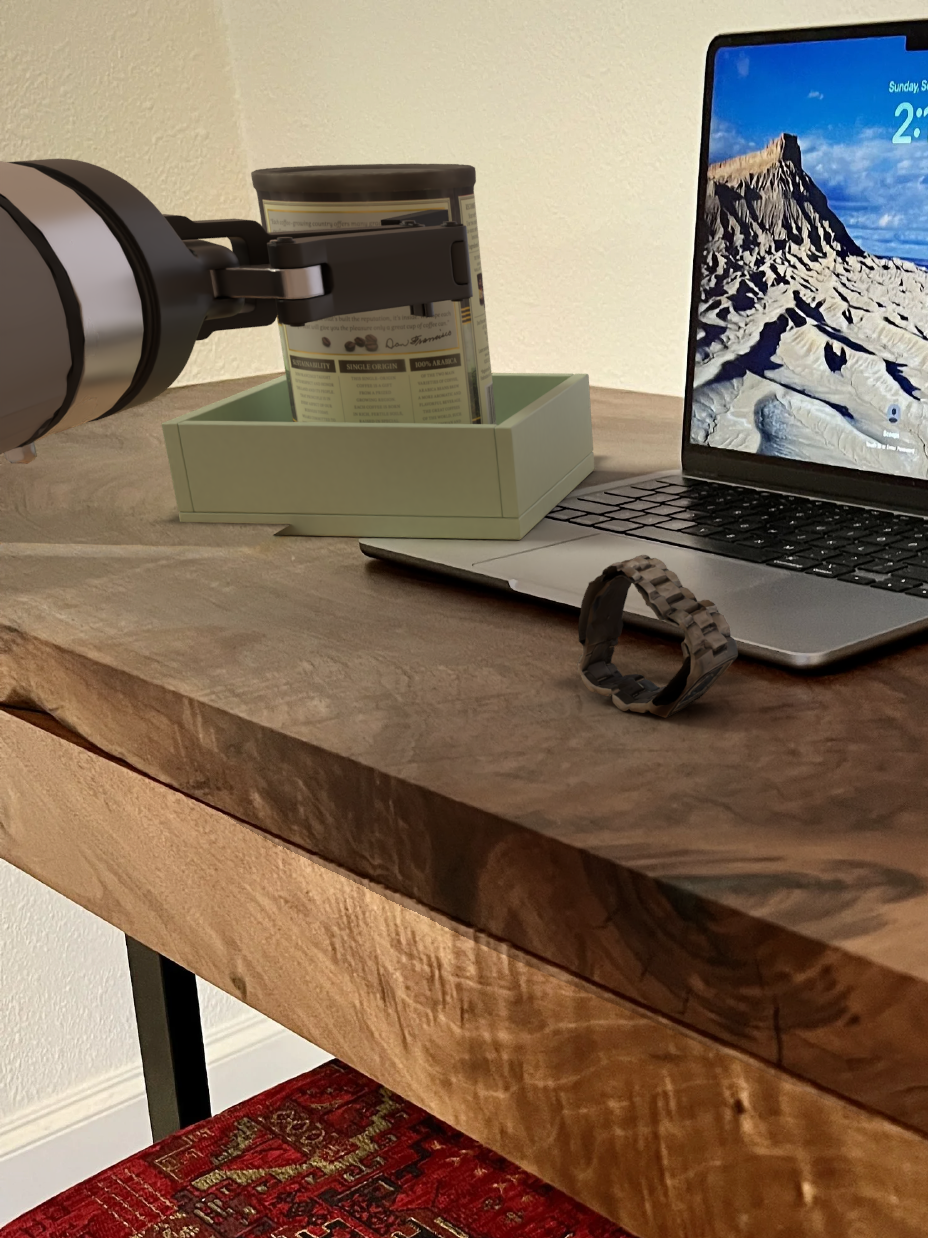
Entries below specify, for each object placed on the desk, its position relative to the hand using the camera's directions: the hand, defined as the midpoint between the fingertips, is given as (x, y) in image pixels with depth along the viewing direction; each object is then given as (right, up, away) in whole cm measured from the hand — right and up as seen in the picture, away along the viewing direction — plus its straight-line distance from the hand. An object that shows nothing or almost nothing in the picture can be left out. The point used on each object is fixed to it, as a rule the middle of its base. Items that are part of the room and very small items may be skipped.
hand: (287, 245), depth 68 cm
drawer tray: (+1, -6, +15) cm, 16 cm away
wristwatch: (+17, -23, -14) cm, 31 cm away
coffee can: (+2, -5, +14) cm, 15 cm away
